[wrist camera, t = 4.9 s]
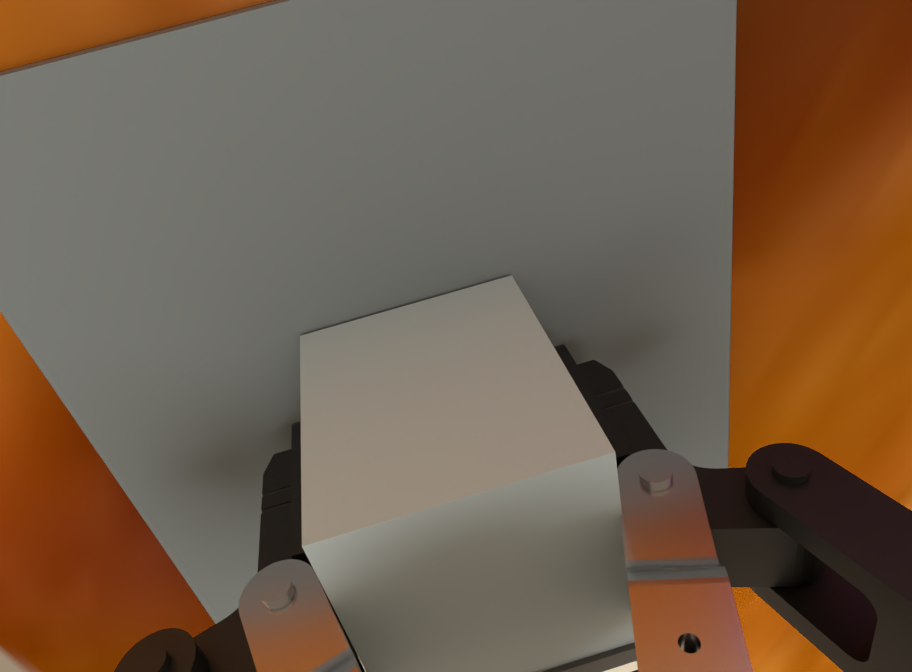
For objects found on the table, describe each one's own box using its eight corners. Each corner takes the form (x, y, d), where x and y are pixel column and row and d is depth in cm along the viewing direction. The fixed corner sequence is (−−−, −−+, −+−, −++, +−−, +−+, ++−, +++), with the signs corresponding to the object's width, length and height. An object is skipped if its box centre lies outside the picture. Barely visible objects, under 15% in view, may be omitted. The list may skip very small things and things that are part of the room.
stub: (511, 274, 14) (618, 456, 9) (544, 452, 17) (639, 660, 12) (299, 336, 14) (301, 552, 9) (369, 505, 16) (397, 736, 12)
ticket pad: (719, -116, 12) (822, -122, 9) (715, 616, 23) (761, 692, 21) (-117, 102, 11) (-226, 152, 9) (311, 744, 22) (313, 837, 20)
